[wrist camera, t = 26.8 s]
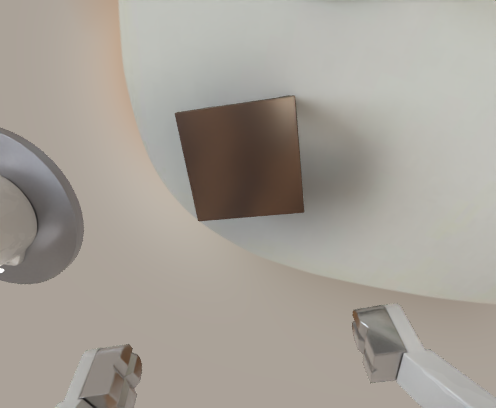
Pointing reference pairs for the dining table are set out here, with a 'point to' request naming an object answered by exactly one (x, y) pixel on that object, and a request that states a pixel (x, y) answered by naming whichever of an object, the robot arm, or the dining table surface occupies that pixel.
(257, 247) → the dining table surface
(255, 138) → the brown wooden stool
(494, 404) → the robot arm
